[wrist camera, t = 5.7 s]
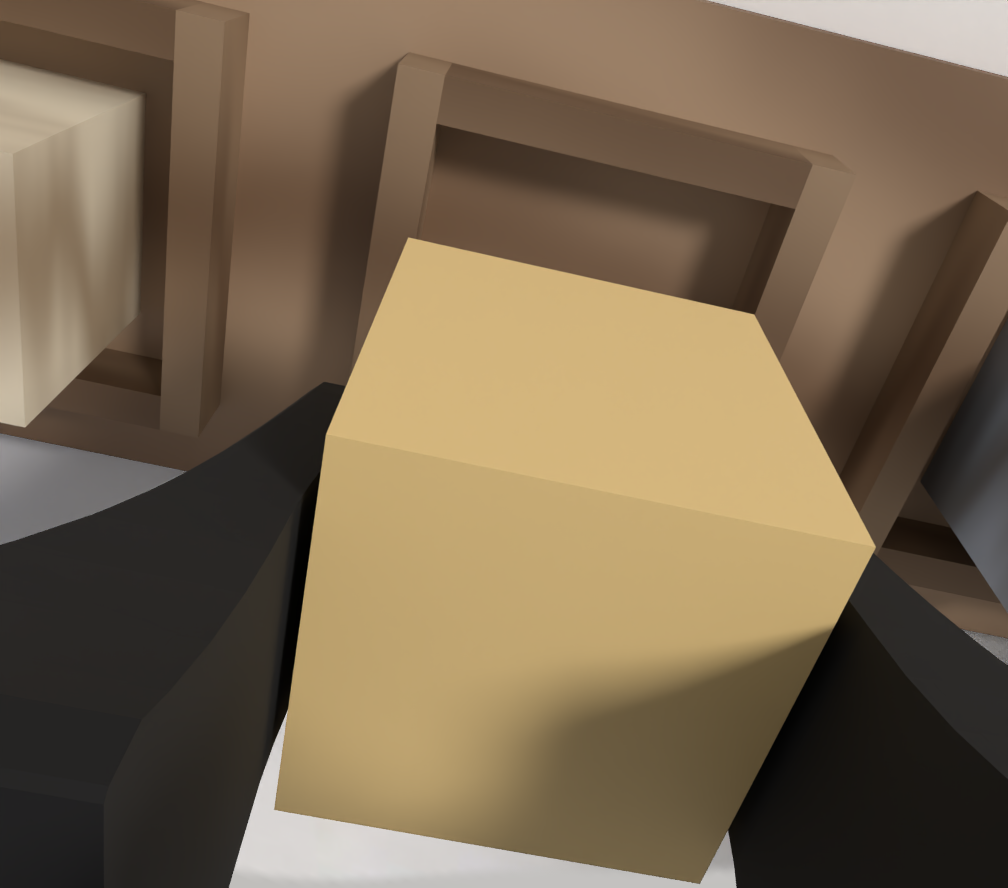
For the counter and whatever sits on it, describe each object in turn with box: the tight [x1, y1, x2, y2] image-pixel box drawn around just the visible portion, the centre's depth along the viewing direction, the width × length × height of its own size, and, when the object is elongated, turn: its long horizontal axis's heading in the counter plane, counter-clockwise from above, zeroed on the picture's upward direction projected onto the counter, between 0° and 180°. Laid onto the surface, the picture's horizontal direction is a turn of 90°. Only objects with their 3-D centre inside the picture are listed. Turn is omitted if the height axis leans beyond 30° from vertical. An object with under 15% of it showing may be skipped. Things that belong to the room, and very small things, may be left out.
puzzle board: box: [0, 0, 1008, 638], centre depth 17 cm, size 12×33×6 cm, turn 77°
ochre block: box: [274, 237, 876, 884], centre depth 11 cm, size 4×4×5 cm
